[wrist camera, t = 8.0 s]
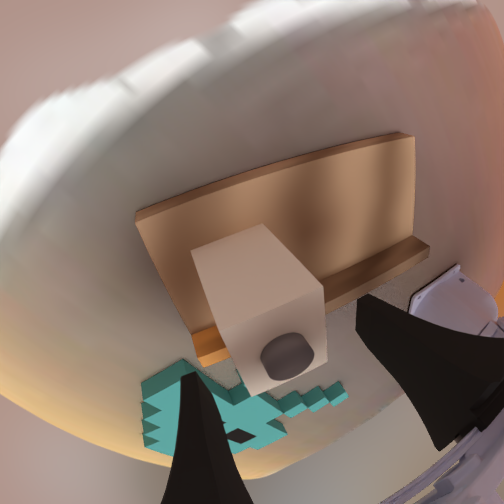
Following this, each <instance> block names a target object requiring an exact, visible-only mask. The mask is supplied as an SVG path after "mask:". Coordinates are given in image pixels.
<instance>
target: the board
mask: <svg viewBox="0 0 504 504" xmlns="http://www.w3.org/2000/svg"><path fill="white" fill-rule="evenodd" d="M414 203H415V137H414V136H412V135H408V134H404V133H394V134H389V135H384V136H379V137H374V138H370V139H365V140H361V141H356V142H352V143H348V144H343V145H339V146H335V147H331V148H327V149H323V150H319V151H316V152H312V153H308V154H304V155H301V156H297V157H294V158H290V159H287V160H283V161H280V162H276V163H273V164H270V165H266V166H263V167H260V168H257V169H253V170H250V171H247V172H244V173H241V174H238V175H235V176H232V177H229V178H226V179H223V180H220V181H217V182H214V183H211V184H208V185H205V186H203V187H200V188H197V189H194V190H192V191H189V192H186V193H183V194H181V195H178V196H176V197H173V198H170V199H168V200H165V201H163V202H160V203H157V204H155V205H152V206H150V207H147V208H145V209H143V210H140V211H138V212H136V218H135V224H136V226H137V228H138V230H139V233H140V235H141V237H142V239H143V242H144V244H145V246H146V248H147V250H148V252H149V255H150V257H151V259H152V261H153V263H154V265H155V267H156V269H157V271H158V273H159V275H160V277H161V279H162V281H163V283H164V285H165V287H166V289H167V291H168V293H169V295H170V297H171V299H172V301H173V303H174V304H175V306H176V308H177V310H178V312H179V314H180V316H181V318H182V319H183V321H184V323H185V325H186V327H187V328H188V330H189V332H190V334H191V336H192V340H193V343H194V347H195V351H196V354H197V358H198V360H199V361H200V363H201V364H202V366H203V368H204V367H207V366H209V365H212V364H215V363H217V362H220V361H222V360H225V359H227V358H230V357H231V355H230V353H229V351H228V349H227V347H226V345H225V343H224V341H223V339H222V337H221V335H220V332H219V330H218V327H217V325H216V322H215V319H214V317H213V314H212V311H211V309H210V306H209V303H208V300H207V298H206V295H205V292H204V289H203V286H202V283H201V281H200V278H199V275H198V272H197V269H196V266H195V263H194V260H193V257H192V254H191V250H193V249H196V248H198V247H201V246H204V245H206V244H209V243H211V242H214V241H217V240H219V239H222V238H224V237H227V236H230V235H232V234H235V233H238V232H240V231H243V230H246V229H248V228H251V227H254V226H256V225H259V224H262V223H263V224H264V225H265V226H266V227H267V228H268V229H269V230H270V231H271V232H272V233H273V234H274V236H275V237H276V238H277V239H278V240H279V241H280V242H281V243H282V244H283V245H284V246H285V247H286V248H287V249H288V250H289V251H290V252H291V253H292V254H293V255H294V256H295V257H296V258H297V259H298V260H299V261H300V262H301V263H302V264H303V266H304V267H305V268H306V269H307V270H308V271H309V272H310V273H311V274H312V275H313V276H314V277H315V278H316V279H317V280H318V281H319V282H320V283H321V284H322V286H323V291H324V304H325V315H326V314H328V313H330V312H332V311H334V310H336V309H338V308H340V307H342V306H344V305H346V304H348V303H349V302H351V301H353V300H355V299H357V298H359V297H361V296H363V295H364V294H366V293H368V292H370V291H372V290H373V289H375V288H377V287H379V286H381V285H382V284H384V283H386V282H388V281H389V280H391V279H393V278H395V277H396V276H398V275H400V274H401V273H403V272H405V271H406V270H408V269H410V268H411V267H413V266H415V265H416V264H418V263H420V262H421V261H423V260H424V259H426V258H428V255H429V249H430V246H428V245H427V244H425V243H424V242H422V241H421V240H419V239H417V238H416V237H414V236H413V235H412V232H413V220H414Z"/></svg>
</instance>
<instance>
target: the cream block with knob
mask: <svg viewBox="0 0 504 504" xmlns="http://www.w3.org/2000/svg"><path fill="white" fill-rule="evenodd" d="M191 254H192V257H193V260H194V263H195V266H196V269H197V272H198V275H199V278H200V281H201V283H202V286H203V289H204V292H205V295H206V298H207V300H208V303H209V306H210V309H211V311H212V314H213V317H214V319H215V322H216V325H217V327H218V330H219V332H220V335H221V337H222V339H223V341H224V343H225V345H226V347H227V349H228V351H229V353H230V355H231V358H232V360H233V362H234V364H235V366H236V368H237V370H238V372H239V374H240V376H241V378H242V380H243V382H244V384H245V385H246V387H247V389H248V391H249V393H250V395H251V397H253V396H255V395H258V394H260V393H262V392H265V391H267V390H269V389H272V388H274V387H276V386H278V385H281V384H283V383H285V382H287V381H289V380H292V379H294V378H296V377H298V376H300V375H302V374H304V373H306V372H308V371H310V370H312V369H314V368H316V367H318V366H320V365H322V364H324V363H326V362H327V338H326V320H325V304H324V291H323V286H322V284H321V283H320V282H319V281H318V280H317V279H316V278H315V277H314V276H313V275H312V274H311V273H310V272H309V271H308V270H307V269H306V268H305V267H304V266H303V264H302V263H301V262H300V261H299V260H298V259H297V258H296V257H295V256H294V255H293V254H292V253H291V252H290V251H289V250H288V249H287V248H286V247H285V246H284V245H283V244H282V243H281V242H280V241H279V240H278V239H277V238H276V237H275V236H274V234H273V233H272V232H271V231H270V230H269V229H268V228H267V227H266V226H265V225H264V224H263V223H262V224H259V225H256V226H254V227H251V228H248V229H246V230H243V231H240V232H238V233H235V234H232V235H230V236H227V237H224V238H222V239H219V240H217V241H214V242H211V243H209V244H206V245H204V246H201V247H198V248H196V249H193V250H191Z"/></svg>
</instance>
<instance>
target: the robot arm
mask: <svg viewBox="0 0 504 504" xmlns="http://www.w3.org/2000/svg"><path fill="white" fill-rule="evenodd" d="M459 270H460V265H459V264H457V265H455V266H454V267H453V268H451V269H450V270H449V271H447V272H446V273H445V274H443V275H442V276H441V277H439V278H438V279H436V280H435V281H434V282H432V283H431V284H429V285H428V286H426V287H425V288H424V289H422V290H421V291H419V292H418V293H416V294H415V295H414V296H413V297H412V299H411V304H410V308H409V313H407V312H405V311H403V310H401V309H399V308H397V307H395V306H393V305H391V304H388V303H386V302H384V301H382V300H380V299H378V298H376V297H374V296H372V295H370V294H366V295H364V296H362V297H361V298H359V299H357V310H356V329H355V330H356V332H357V333H358V335H359V336H360V338H361V339H362V341H363V342H364V343H365V345H366V346H367V348H368V349H369V350H370V351H371V352H372V353H373V355H374V356H375V357H376V358H377V359H378V360H379V361H380V363H381V364H382V365H383V366H384V367H385V368H386V369H387V370H388V372H389V373H390V374H391V375H392V376H393V377H394V378H395V379H396V381H397V382H398V383H399V385H400V386H401V387H402V389H403V390H404V392H405V393H406V395H407V396H408V397H409V399H410V400H411V402H412V404H413V406H414V407H415V409H416V410H417V412H418V414H419V416H420V417H421V419H422V421H423V423H424V424H425V426H426V428H427V431H428V433H429V435H430V437H431V439H432V441H433V444H434V446H435V447H436V449H437V450H438V451H441V450H442V449H443V448H445V447H446V446H447V445H449V443H451V442H452V441H453V440H455V439H456V438H457V437H458V436H459V435H460V436H461V437H462V438H463V439H462V440H461V441H460V442H459V443H458V444H457V445H456V446H454V447H453V448H452V449H451V450H450V451H449V452H448V453H447V454H445V455H444V456H443V457H442V458H441V459H440V460H438V462H436V463H435V464H434V465H433V466H431V467H430V468H429V469H428V470H426V471H425V472H424V473H422V474H421V475H420V476H418V477H417V478H416V479H414V480H413V481H412V482H410V483H409V484H407V485H406V486H405V487H403V488H402V489H400V490H399V491H398V492H396V493H394V494H393V495H391V496H390V497H388V498H387V499H385V500H383V501H382V502H380V503H378V504H404V503H405V502H406V501H408V500H409V499H411V498H412V497H414V496H415V495H416V494H418V493H419V492H420V491H421V490H423V489H424V488H426V487H427V486H428V485H430V484H431V483H432V482H433V481H434V480H436V479H437V478H438V477H439V476H440V475H442V474H443V473H444V472H445V471H446V470H448V468H450V467H451V466H452V465H453V464H454V463H455V462H456V461H458V460H459V463H458V464H456V465H455V466H454V467H452V468H451V469H449V470H448V471H447V472H446V473H445V474H443V475H442V476H441V478H439V479H438V480H437V481H436V482H435V483H434V485H433V486H434V487H435V489H434V490H432V491H431V492H430V493H428V494H427V495H426V496H424V497H423V498H421V499H420V500H418V501H417V502H415V503H414V504H504V502H503V500H502V499H501V498H500V496H499V495H498V493H497V492H496V491H495V490H496V488H497V487H498V486H499V484H500V483H501V482H502V480H503V479H504V317H499V318H498V308H497V304H496V302H495V300H494V299H493V297H492V296H491V295H490V294H489V293H488V292H487V291H485V290H484V289H483V288H482V287H480V286H479V285H478V284H476V283H475V282H474V281H472V280H471V279H470V278H468V277H467V276H465V275H464V274H463V273H461V272H460V271H459ZM497 318H498V319H497ZM161 504H253V501H252V499H251V497H250V495H249V493H248V491H247V490H246V487H245V485H244V483H243V481H242V479H241V477H240V474H239V472H238V470H237V467H236V465H235V462H234V459H233V456H232V453H231V449H230V446H229V442H228V439H227V435H226V432H225V429H224V425H223V421H222V418H221V415H220V412H219V410H218V407H217V405H216V402H215V399H214V397H213V395H212V393H211V392H210V390H209V389H208V388H207V386H206V385H205V383H204V382H203V381H202V379H201V378H200V376H199V375H198V373H197V372H196V371H194V372H191V373H189V374H186V375H183V376H181V378H180V407H179V419H178V430H177V437H176V444H175V451H174V456H173V462H172V466H171V471H170V475H169V479H168V483H167V486H166V490H165V493H164V496H163V499H162V502H161Z"/></svg>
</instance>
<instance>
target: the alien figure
mask: <svg viewBox="0 0 504 504" xmlns="http://www.w3.org/2000/svg"><path fill="white" fill-rule="evenodd" d="M236 370H237V369H236ZM194 371H196V372H197V373H198V375H199V376H200V378H201V379H202V381H203V382H204V383H205V385H206V386H207V388H208V389H209V390H210V392H211V393H212V395H213V397H214V399H215V402H216V405H217V407H218V410H219V412H220V415H221V418H222V421H223V425H224V429H225V432H226V435H227V439H228V442H229V446H230V449H231V453H233V454H236V453H238V452H240V451H243V450H245V449H247V448H249V447H251V448H254V449H257V450H258V449H260V448H262V447H264V446H266V445H268V444H270V443H272V442H274V441H276V440H278V439H280V438H282V437H284V436H286V435H288V434H287V432H286V430H285V428H284V426H283V424H282V423H280V422H278V421H276V420H274V418H276V417H278V416H280V415H282V414H283V413H284V414H285V415H287V416H288V417H290V418H292V417H294V416H295V415H297V414H299V413H300V412H302V411H304V410H305V409H307V408H309V409H310V410H311V411H312V412H313V413H314V412H315V411H317V410H318V409H320V408H322V407H323V406H325V405H326V404H328V403H329V402H330V403H331V404H332V405H333V407H334V406H336V405H337V404H339V403H340V402H342V401H343V400H345V399H346V398H348V397H349V396H348V394H347V393H346V391H345V390H344V388H343V387H342V386H341V384H340V383H339V381H338V382H336V383H335V384H333V385H332V386H331V387H329V388H328V389H326V390H325V391H322V390H321V389H320V388H319V387H318V386H317V387H315V388H314V389H312V390H311V391H309V392H308V393H306V394H304V395H303V396H300V395H299V394H298V393H297V392H296V391H293V392H291V393H290V394H288V395H287V396H285V397H283V398H282V399H280V400H278V401H276V400H275V399H274V398H272V397H271V396H270V395H268V394H267V393H266V392H262V393H260V394H258V395H255V396H253V397H251V395H250V393H249V391H248V389H247V387H246V385H245V384H244V382H243V380H242V378H241V376H240V374H239V372H238V370H237V373H238V375H239V377H240V380H241V382H242V383H241V384H240V385H238V386H236V387H234V388H233V389H231V390H229V391H227V390H226V389H224V388H223V387H221V386H220V385H219V384H217V383H216V382H214V381H213V380H211V379H210V378H208V377H207V376H206V375H204V374H203V373H201V372H200V371H199V370H197V369H196V368H194V367H193V366H192V365H190V364H189V363H188V362H186V361H185V360H184V359H182V360H180V361H178V362H177V363H175V364H173V365H172V366H170V367H168V368H167V369H165V370H163V371H162V372H160V373H158V374H156V375H155V376H153V377H151V378H149V379H148V380H146V381H144V382H142V383H141V387H142V396H143V401H145V402H143V403H141V405H142V413H143V420H142V425H143V431H144V433H142V434H143V440H144V446H145V447H146V448H148V449H151V450H154V451H157V452H160V453H163V454H166V455H169V456H174V451H175V444H176V437H177V430H178V419H179V407H180V378H181V376H183V375H186V374H189V373H191V372H194Z"/></svg>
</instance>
